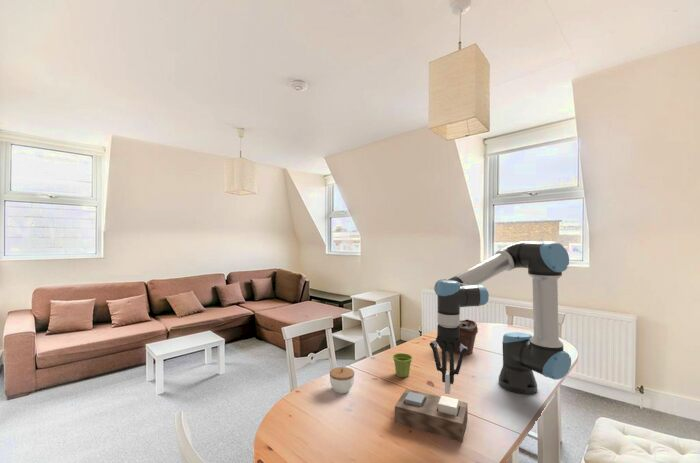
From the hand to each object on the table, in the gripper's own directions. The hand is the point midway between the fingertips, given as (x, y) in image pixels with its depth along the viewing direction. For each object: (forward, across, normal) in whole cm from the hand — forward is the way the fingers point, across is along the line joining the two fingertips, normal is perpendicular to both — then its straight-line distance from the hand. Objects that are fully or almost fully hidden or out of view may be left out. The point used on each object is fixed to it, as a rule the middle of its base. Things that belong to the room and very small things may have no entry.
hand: (447, 391), depth 109 cm
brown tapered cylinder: (+12, +5, -77) cm, 78 cm away
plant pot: (+12, +26, -31) cm, 43 cm away
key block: (+12, +6, 0) cm, 13 cm away
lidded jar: (+13, +45, -5) cm, 47 cm away
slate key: (+9, +12, 0) cm, 15 cm away
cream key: (+7, 0, 0) cm, 7 cm away
